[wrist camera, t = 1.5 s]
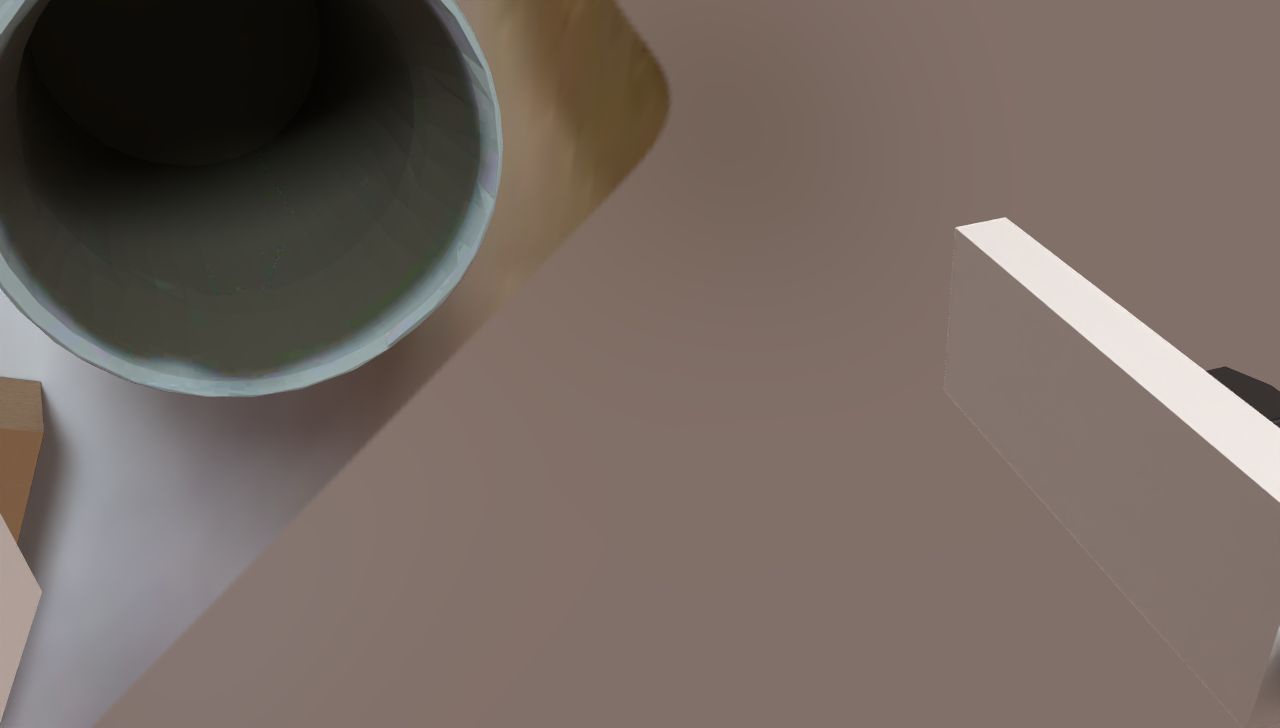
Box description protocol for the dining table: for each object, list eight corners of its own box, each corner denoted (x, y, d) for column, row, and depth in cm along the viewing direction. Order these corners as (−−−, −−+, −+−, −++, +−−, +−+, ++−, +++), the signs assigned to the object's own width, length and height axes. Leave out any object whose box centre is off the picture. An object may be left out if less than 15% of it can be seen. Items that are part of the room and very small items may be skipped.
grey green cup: (-33, 188, 30) (-45, 404, 21) (-36, -219, 26) (-54, -178, 17) (339, 215, 35) (462, 397, 26) (385, -121, 31) (550, -48, 22)
